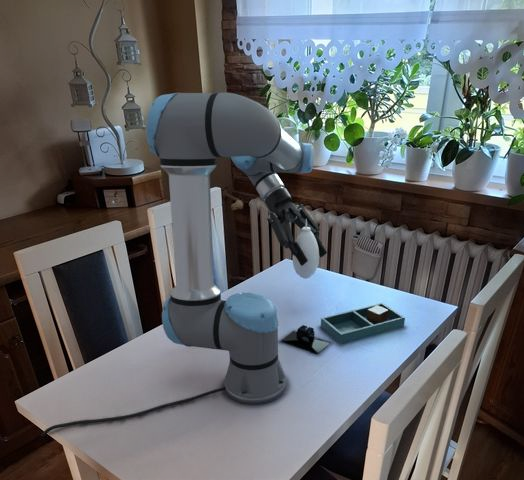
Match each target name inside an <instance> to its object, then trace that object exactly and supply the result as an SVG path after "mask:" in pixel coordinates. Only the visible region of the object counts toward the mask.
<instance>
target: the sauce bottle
mask: <svg viewBox="0 0 524 480" xmlns="http://www.w3.org/2000/svg"><path fill="white" fill-rule="evenodd" d="M310 230H311V228H310V227H307V219H306V224H305V227H303V228H302V229H301V231H300V232H299V234H298V235H297V237H296V239H295V242H297V243H298V245H299V247H300V248H301V250H302V251H303V253H304V255H305V256H306V258H307V260H308V261H307V262H306V263H305V264H304V265H303V266H301V264H300V263H299V261H298V260H297V258H296V256H294V255H293V254H292V266H293V269H294V271H295V274H296V275H298V276H299V277H300V278H302V279H309V278H311V277H312V276H314V275H315V273H316V271H317V269H318V267H319V262H320V256H319V249H318V244H317V241H316V239H315V236H314V235H313V233H312V232H311V231H310Z"/></svg>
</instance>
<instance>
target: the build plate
mask: <svg viewBox="0 0 524 480" xmlns="http://www.w3.org/2000/svg"><path fill="white" fill-rule="evenodd" d="M315 335H316V333H315V328H313V327H311V326H307V325H304V324H302V325H301V326H299V327H298V328H297V329H296V330H293V331H291V332H290V333H289V334H287V335H286V336H284V337H283V338H282V339H281V340H280V343H282V344H285V345H289V346H291V347H294V348H297V349H300V350H303V351H306V352H309V353H311V354H313V355H319V354H320V353H322V351H324V350H325V349H326V348H327V347H328V346H329V345H330V344H331V342H330V341H327V340H324V339H322V338H318V337H315Z"/></svg>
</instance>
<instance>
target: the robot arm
mask: <svg viewBox="0 0 524 480" xmlns="http://www.w3.org/2000/svg"><path fill="white" fill-rule="evenodd" d="M145 136H146V142H147V145H148V146H149V151H150V152H151V153H152V154H153V155H154V156H156V157H158V158H159V163H160V167H161V168H162V170H164V171H165V173H166V174H167V175H168V184H169V185H168V187H169V200H170V215H171V228H172V242H173V257H174V271H175V286H174V287H173V288H172V289H171V290H170V292H169V293H170V294H169V296H168V297H167V298H166V299H165V301H164V302H163V305H162V310H161V311H162V312H161V323H162V328H163V331H164V334H165V336H166V337H167V339H169V340H170V341H171V342H172V343H174V344H176V345H182V346H185V347H187V348H191V347H193V348H202V349H210V350H211V349H212V350H219V351H227V352H228V355H229V362H228V366H227V370H226V373H225V376H224V379H223V385H224V386H222V387H219V388H215V389H212V390H209V391H206V392H203V393H200V394H197V395H194V396H191V397H187V398H184V399H180V400H176V401H173V402H172V401H171V402H168V403H165V404H161V405H158V406H154V407H151V408H148V409H145V410H142V411H138V412H135V413H130V414H125V415H120V416H113V417H105V418H104V417H103V418H95V419H83V420H81V419H80V420H75V421H71V422H65V423H58V424H54V425H51V426H49V427H47V428H46V429H45V430H44V431H43V432H42V433H41V434H40V437H41V438H42V437H45V436H47V434H48V433H50V432H52V431H53V430H56V429H61V428H66V427H71V426H76V425H85V424H86V425H87V424H98V423H99V424H100V423H106V422H114V421H121V420H127V419H132V418H136V417H140V416H143V415H146V414H150V413H154V412H156V411H159V410H162V409H166V408H169V407H173V406H177V405H180V404H185V403H189V402H192V401H195V400H199V399H201V398H204V397H207V396H209V395H210V396H211V395H213V394H216V393H219V392H223V391H225V393H226V396H228V397H229V398H230V399H231V400H233V401H234V402H237V403H240V404H245V405H263V404H267V403H271V402H273V401H276V400H277V399H279V398H280V397H281V396H282V395H283V394H284V393H285V391H286V389H287V377H286V374H285V371H284V369H283V366H282V364H281V362H280V359H279V320H278V311H277V307H276V305H275V304H274V302H273V301H271V299H269V298H268V297H266V296H264V295H261V294H258V293H254V292H241V293H239V292H238V293H234V294H231V295H229V296H228V297H227V298H226V300H223V299H222V291H221V290H222V289H220V287H218V286H217V285H216V284H215V279H214V253H213V252H214V251H213V227H212V225H213V224H212V199H211V197H212V196H211V177H210V176H211V173H212V172H213V171H214V170H215V169H216V168H217V158H230V159H231V161H232V162H233V164H234V166H235V167H236V168H238V170H240V171H242V172H243V173H244V174H245V175H246V176H247V177H248V178H249V180H250V182H251V183H252V185H253V186H254V188H255V190H256V191H257V193H258V195H259V196H260V198H261V200H262V201H264V204H265V206H266V208H267V209H268V211H269V212H270V214H269V215H268V217H267V218H266V221H267V222H268V223H269V224H270V225H271V227H272V230H273V232H274V235H275V236H276V239H277V241H278V243H279V245H280V247H282V248H284V249H286V250H287V249H289V251H290V252H291V254H292V256H293V255H294V256H296V258H297V260H298V261H299V263H300V264H301V266H303V265H304V264H305V263H306V262H307V261H308V260H307V258H306V256H305V255H304V253H303V251H302V250H301V248H300V247H299V245H298V243H297V242H296V241H294V237H293V233H292V229H291V225H290V223H291V224H293V225H296V226H297V227H298V228H299V229H301V230H302V228H303V227H305V224H306V219H307V227H310V228H311V230H310V231H311V232H312V233H313V235H314V236H315V239H316V241H317V244H318V249H319V259H320V258H321V259H322V258H323V257H324V256H326V255H327V254H328V251H327V249H326V248H325V246H324V245H323V242H322V240H321V237H320V236H319V234H318V233H319V232H320V231H321V228H320V227H319V225H318V224H317V223H316V221H315V220H314V219H313V218H312V217H311V215H310V214H309V213H308V211H307V210H306V209H305V206H304V204H302V203H300V204H299V205H295V204H294V203H293V202H292V196H291V194H290V193H289V191H288V189H287V188H286V187H285V184H284V183H283V181H282V180H281V178H280V177H279V175H278V174H277V173H283V174H285V173H287V174H310V173H311V172H312V171H313V169H314V163H315V148H314V145H313V144H312V143H305V142H297V141H296V140H295V139H294V138H292V136H290V134H288V132H286V131H285V130H284V129H283V128H282V126H281V123H280V120H279V118H278V117H277V115H275V114H274V112H272V110H269V108H268V107H266V106H264V105H263V104H261V103H259V102H257V101H256V100H253V99H251V98H249V97H246V96H243V95H241V94H237V93H233V92H174V93H168V94H167V93H166V94H161V95H159V96H157V97H156V98H155V99H154V100H153V102H152V104H151V106H150V107H149V110H148V112H147V117H146V123H145Z"/></svg>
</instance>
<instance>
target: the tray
mask: <svg viewBox="0 0 524 480" xmlns="http://www.w3.org/2000/svg"><path fill="white" fill-rule="evenodd" d="M376 305H378V306H380V307H383V308H385V309H388V310H389V313H388V321H386V322H382V323H378V324H375V325H373V324H372V323H371V322H369V321H368V320H367V310H368V309H370V308H372V307H374V306H376ZM405 323H406V317H405V316H404V315H402V314H400V313H398V311H395V310H394V309H392V308H391V307H389V306H387V304H385V303H383V302H380V303H375V304H372V305H368V306H363V307H359V308H356V309H351V310H348V311H344V312H340V313H336V314H335V313H334V314H331V315H328V316H323V317H320V328H321V329H322V330H324V332H325V333H327V334H328V335H329V336H330V337H332V338H333V339H334V340H335V341H336V342H337V343H338V344H340V345H342V344H347V343H351V342H354V341H357V340H361V339H364V338H367V337H368V338H369V337H372V336H375V335H378V334H382V333H383V334H384V333H387V332H390V331H394V330H397V329H401V328H404V327H405Z"/></svg>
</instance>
